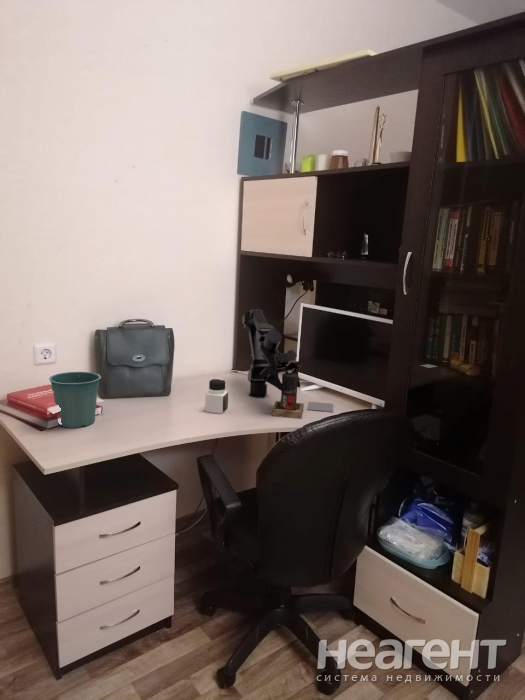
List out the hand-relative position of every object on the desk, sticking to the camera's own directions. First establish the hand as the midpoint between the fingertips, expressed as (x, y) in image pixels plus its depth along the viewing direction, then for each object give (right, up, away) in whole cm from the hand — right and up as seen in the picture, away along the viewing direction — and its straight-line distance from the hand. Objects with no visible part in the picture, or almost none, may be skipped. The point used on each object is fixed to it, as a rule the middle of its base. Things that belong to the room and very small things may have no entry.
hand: (291, 388), depth 188 cm
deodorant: (-1, -9, +3) cm, 10 cm away
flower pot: (-75, -10, -17) cm, 78 cm away
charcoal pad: (+12, -8, +11) cm, 18 cm away
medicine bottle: (-29, -8, +2) cm, 30 cm away
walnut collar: (-1, -9, +3) cm, 10 cm away
